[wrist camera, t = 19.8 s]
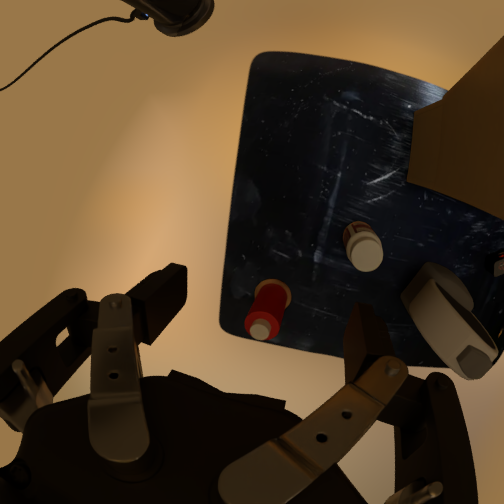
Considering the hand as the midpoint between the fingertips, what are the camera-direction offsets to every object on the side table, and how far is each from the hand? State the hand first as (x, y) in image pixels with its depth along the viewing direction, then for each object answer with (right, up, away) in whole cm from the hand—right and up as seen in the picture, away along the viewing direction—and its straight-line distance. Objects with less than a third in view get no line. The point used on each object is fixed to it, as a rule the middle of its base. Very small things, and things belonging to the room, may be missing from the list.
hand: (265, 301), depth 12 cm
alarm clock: (+30, -5, +25) cm, 39 cm away
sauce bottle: (+3, -5, +31) cm, 32 cm away
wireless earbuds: (+42, +2, +19) cm, 46 cm away
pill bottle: (+15, +5, +25) cm, 30 cm away
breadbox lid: (+16, +11, +1) cm, 19 cm away
